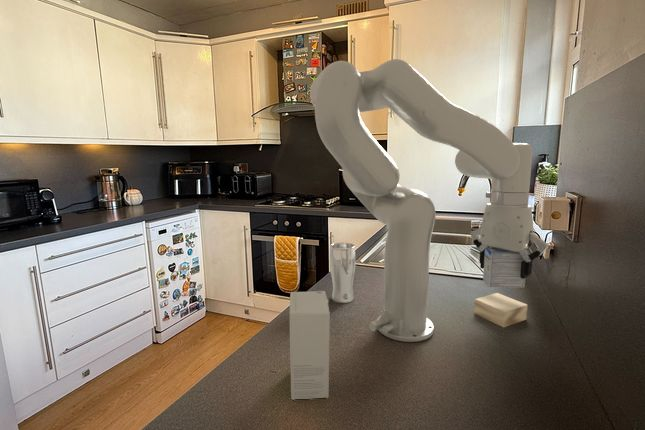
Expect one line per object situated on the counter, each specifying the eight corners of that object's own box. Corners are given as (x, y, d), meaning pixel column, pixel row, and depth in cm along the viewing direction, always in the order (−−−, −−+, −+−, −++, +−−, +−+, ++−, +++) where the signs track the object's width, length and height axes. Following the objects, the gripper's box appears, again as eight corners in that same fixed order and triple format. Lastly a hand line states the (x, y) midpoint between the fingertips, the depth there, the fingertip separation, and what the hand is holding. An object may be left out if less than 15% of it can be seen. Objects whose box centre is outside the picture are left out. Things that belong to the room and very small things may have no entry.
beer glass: (358, 295, 97) (359, 243, 94) (350, 306, 91) (350, 250, 88) (335, 292, 100) (335, 241, 97) (325, 301, 94) (325, 247, 91)
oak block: (503, 328, 79) (504, 312, 78) (474, 314, 86) (475, 298, 85) (526, 320, 82) (527, 304, 82) (496, 307, 89) (497, 292, 89)
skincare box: (291, 370, 64) (288, 290, 62) (327, 368, 65) (326, 289, 62) (290, 402, 56) (287, 312, 53) (331, 400, 57) (330, 310, 54)
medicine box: (516, 281, 84) (519, 246, 83) (524, 288, 80) (528, 252, 78) (482, 280, 85) (484, 246, 84) (489, 287, 81) (491, 251, 79)
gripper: (464, 197, 83) (460, 266, 86) (545, 204, 70) (538, 286, 73) (480, 194, 88) (476, 260, 91) (559, 200, 74) (551, 278, 78)
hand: (503, 271), depth 82 cm, fingers closed on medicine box, 8 cm apart
